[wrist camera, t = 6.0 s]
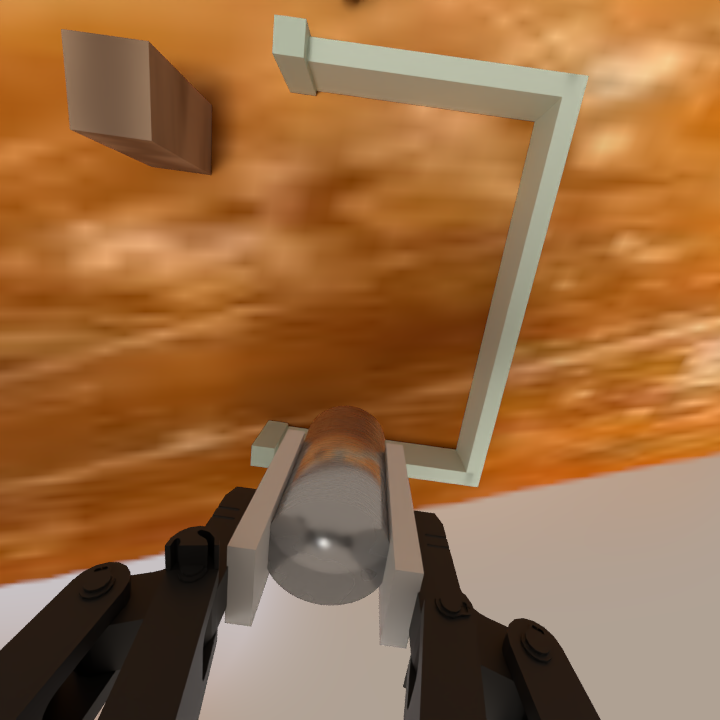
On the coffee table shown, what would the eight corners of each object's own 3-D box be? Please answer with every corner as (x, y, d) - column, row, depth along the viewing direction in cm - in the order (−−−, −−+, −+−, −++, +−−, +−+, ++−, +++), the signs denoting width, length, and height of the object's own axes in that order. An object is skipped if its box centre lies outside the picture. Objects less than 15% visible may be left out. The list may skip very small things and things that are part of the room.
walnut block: (151, 166, 25) (70, 129, 18) (149, 96, 24) (61, 29, 17) (211, 175, 25) (151, 140, 18) (212, 105, 24) (148, 41, 17)
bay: (267, 438, 31) (250, 465, 26) (292, 61, 23) (274, 14, 19) (465, 465, 31) (480, 497, 26) (558, 99, 23) (600, 60, 19)
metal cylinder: (304, 470, 18) (260, 595, 11) (310, 401, 17) (265, 492, 10) (379, 480, 18) (381, 613, 11) (390, 411, 17) (400, 510, 10)
